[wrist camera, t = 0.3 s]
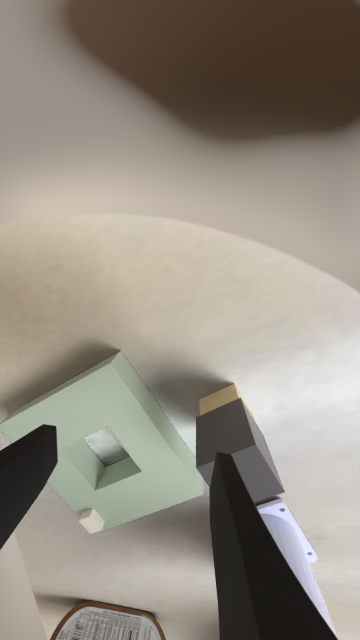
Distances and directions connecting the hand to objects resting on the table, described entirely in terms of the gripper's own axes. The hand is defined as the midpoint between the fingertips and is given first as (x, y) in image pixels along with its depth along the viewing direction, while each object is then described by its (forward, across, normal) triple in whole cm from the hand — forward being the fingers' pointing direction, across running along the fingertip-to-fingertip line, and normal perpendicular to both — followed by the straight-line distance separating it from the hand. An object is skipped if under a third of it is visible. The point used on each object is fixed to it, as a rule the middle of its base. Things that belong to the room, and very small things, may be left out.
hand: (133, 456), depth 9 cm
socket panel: (+10, +5, +10) cm, 15 cm away
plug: (+10, -6, +4) cm, 12 cm away
